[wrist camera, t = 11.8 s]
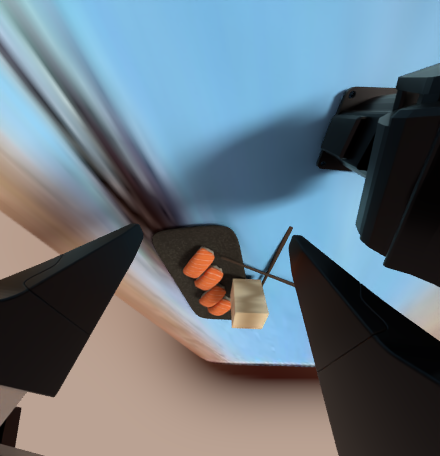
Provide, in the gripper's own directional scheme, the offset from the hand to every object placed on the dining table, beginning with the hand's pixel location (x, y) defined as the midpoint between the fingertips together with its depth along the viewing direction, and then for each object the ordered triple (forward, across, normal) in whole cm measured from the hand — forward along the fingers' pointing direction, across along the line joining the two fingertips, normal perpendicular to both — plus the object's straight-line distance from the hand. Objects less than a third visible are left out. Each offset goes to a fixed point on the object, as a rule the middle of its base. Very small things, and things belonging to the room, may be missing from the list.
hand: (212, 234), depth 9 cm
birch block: (+10, -4, +21) cm, 24 cm away
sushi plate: (+13, -4, +21) cm, 25 cm away
